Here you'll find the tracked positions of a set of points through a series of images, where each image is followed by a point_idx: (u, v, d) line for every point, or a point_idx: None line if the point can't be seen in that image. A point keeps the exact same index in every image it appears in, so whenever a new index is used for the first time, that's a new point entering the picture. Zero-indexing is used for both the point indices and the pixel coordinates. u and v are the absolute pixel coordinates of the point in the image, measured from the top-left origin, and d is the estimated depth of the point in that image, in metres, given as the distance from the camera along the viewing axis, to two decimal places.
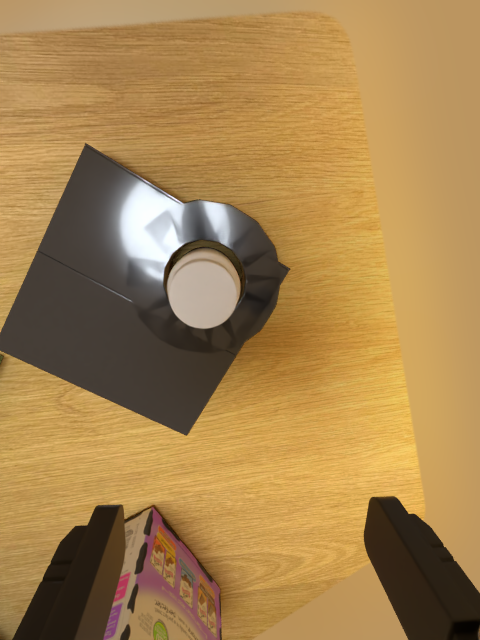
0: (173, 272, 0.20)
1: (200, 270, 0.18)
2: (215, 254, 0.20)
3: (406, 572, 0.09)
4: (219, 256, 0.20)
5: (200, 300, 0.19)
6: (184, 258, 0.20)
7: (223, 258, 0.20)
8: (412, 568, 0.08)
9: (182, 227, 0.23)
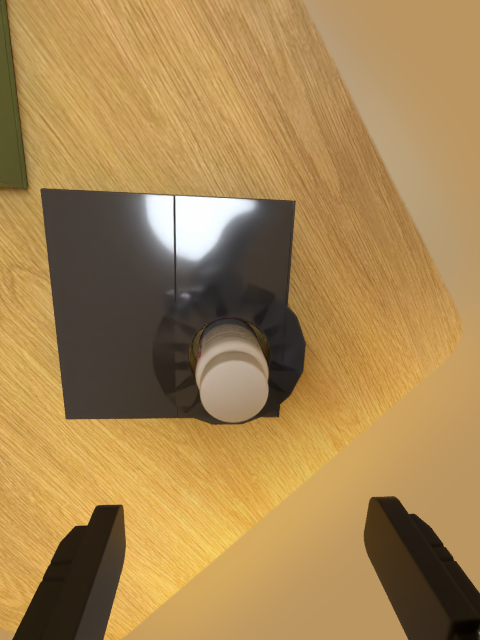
0: (233, 345, 0.20)
1: (256, 379, 0.19)
2: (267, 369, 0.21)
3: (406, 572, 0.09)
4: (267, 373, 0.21)
5: (229, 392, 0.19)
6: (250, 346, 0.20)
7: (267, 377, 0.21)
8: (412, 568, 0.08)
9: (266, 314, 0.23)
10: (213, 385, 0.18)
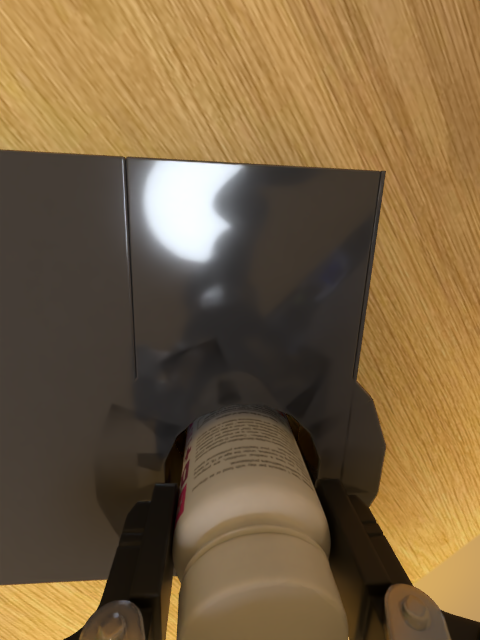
0: (258, 497, 0.09)
1: (320, 618, 0.07)
2: (329, 535, 0.10)
3: (338, 545, 0.09)
4: (330, 544, 0.10)
5: None
6: (295, 497, 0.09)
7: None
8: (341, 541, 0.09)
9: (315, 396, 0.12)
10: (210, 637, 0.07)
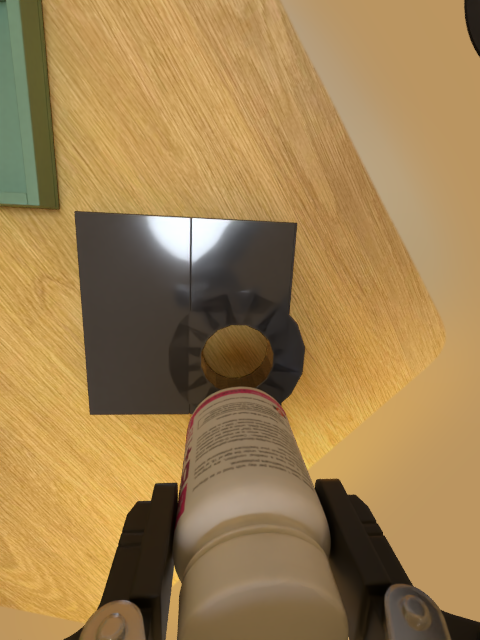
0: (258, 497, 0.09)
1: (320, 618, 0.07)
2: (329, 535, 0.10)
3: (338, 545, 0.09)
4: (330, 544, 0.10)
5: None
6: (295, 497, 0.09)
7: None
8: (341, 541, 0.09)
9: (270, 322, 0.26)
10: (211, 637, 0.07)
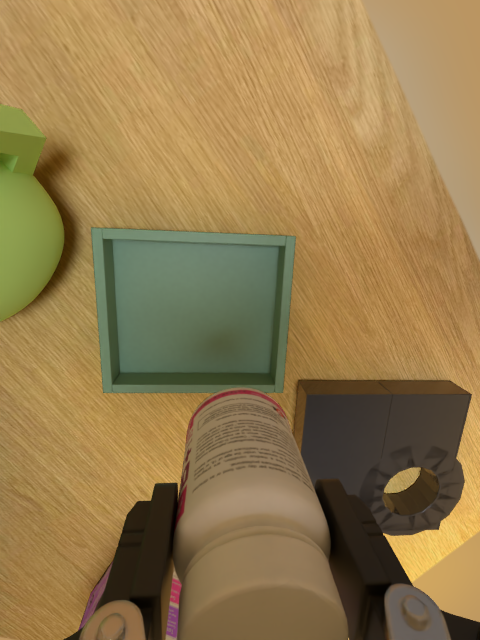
0: (258, 499, 0.09)
1: (320, 620, 0.07)
2: (329, 537, 0.10)
3: (338, 545, 0.09)
4: (329, 546, 0.10)
5: None
6: (295, 498, 0.09)
7: (329, 552, 0.10)
8: (341, 541, 0.09)
9: (440, 463, 0.33)
10: (211, 639, 0.07)
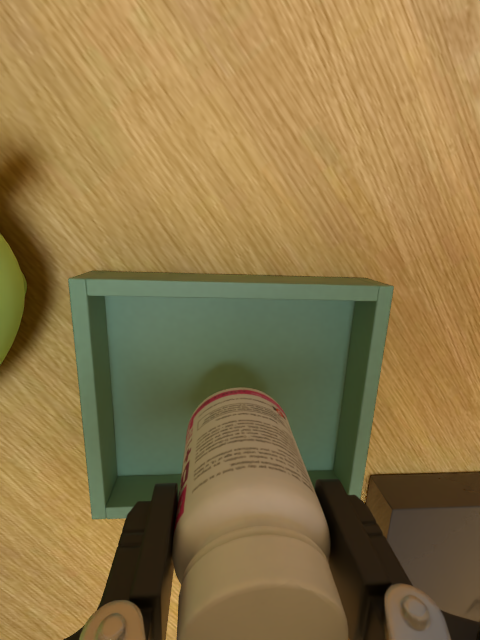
0: (258, 499, 0.09)
1: (320, 620, 0.07)
2: (329, 537, 0.10)
3: (338, 545, 0.09)
4: (329, 546, 0.10)
5: None
6: (295, 498, 0.09)
7: (329, 552, 0.10)
8: (341, 541, 0.09)
9: None
10: (210, 639, 0.07)
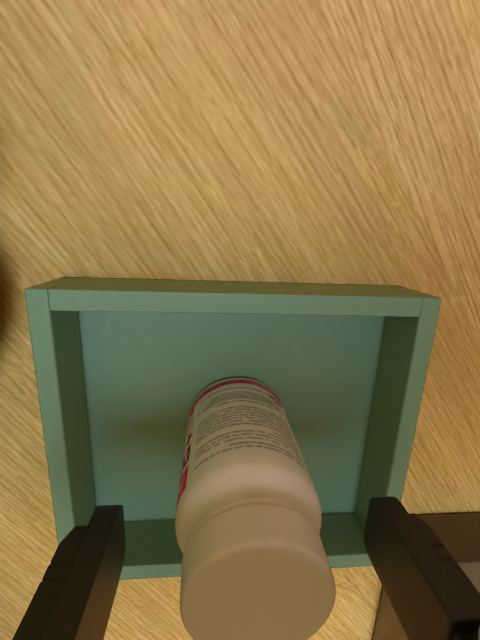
0: (254, 474, 0.10)
1: (310, 578, 0.08)
2: (320, 511, 0.10)
3: (406, 572, 0.09)
4: (320, 519, 0.10)
5: (248, 607, 0.08)
6: (288, 474, 0.10)
7: None
8: (412, 568, 0.08)
9: None
10: (210, 595, 0.08)
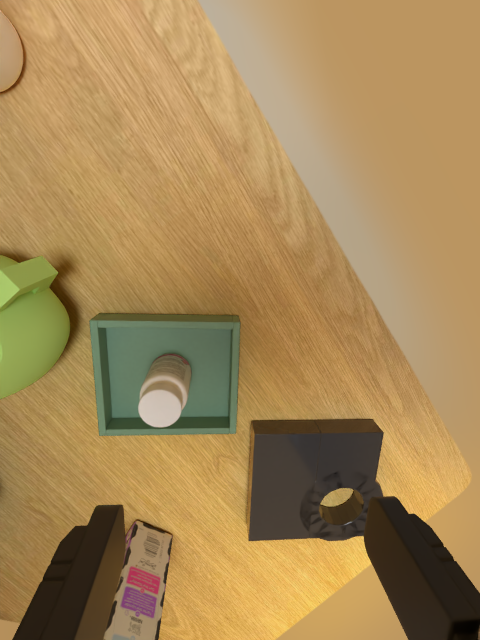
0: (162, 378, 0.32)
1: (172, 401, 0.30)
2: (186, 392, 0.32)
3: (406, 572, 0.09)
4: (186, 395, 0.32)
5: (156, 409, 0.30)
6: (174, 379, 0.32)
7: (186, 397, 0.33)
8: (412, 568, 0.08)
9: (363, 484, 0.42)
10: (146, 404, 0.30)
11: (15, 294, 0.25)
